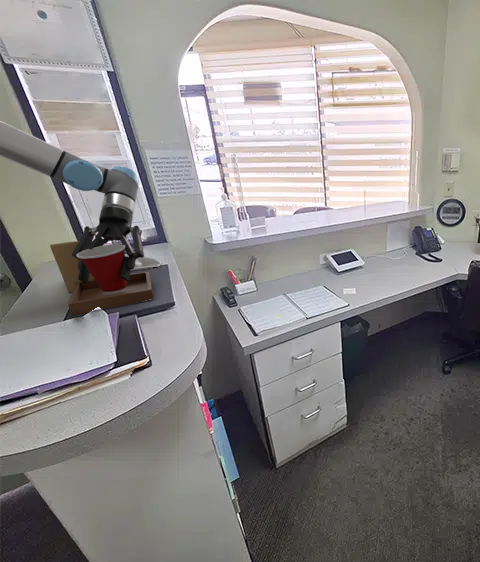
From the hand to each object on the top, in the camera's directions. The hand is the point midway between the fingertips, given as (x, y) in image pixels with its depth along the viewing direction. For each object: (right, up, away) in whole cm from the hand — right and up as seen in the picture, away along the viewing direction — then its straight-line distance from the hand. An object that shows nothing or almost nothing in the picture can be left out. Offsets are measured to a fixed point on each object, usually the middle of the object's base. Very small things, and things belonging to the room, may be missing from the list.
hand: (104, 280), depth 86 cm
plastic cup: (-1, -3, +4) cm, 5 cm away
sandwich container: (-18, -1, +14) cm, 23 cm away
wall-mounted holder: (-15, +4, +27) cm, 31 cm away
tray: (-1, -5, +5) cm, 7 cm away
